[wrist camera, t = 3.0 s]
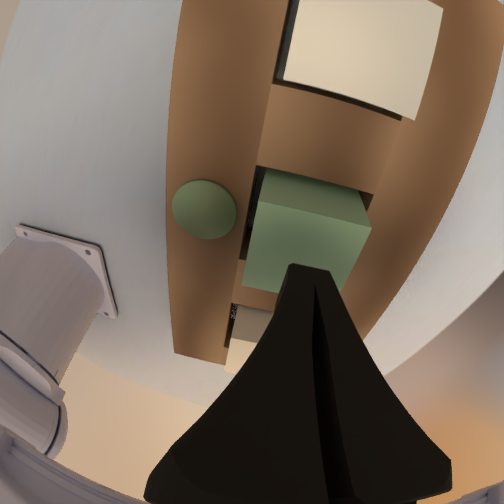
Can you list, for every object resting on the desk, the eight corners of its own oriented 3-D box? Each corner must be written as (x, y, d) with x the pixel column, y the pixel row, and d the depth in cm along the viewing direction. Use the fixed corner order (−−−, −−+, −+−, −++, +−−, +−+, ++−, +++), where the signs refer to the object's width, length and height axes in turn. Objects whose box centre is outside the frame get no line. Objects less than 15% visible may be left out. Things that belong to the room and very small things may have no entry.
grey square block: (286, 74, 9) (283, 79, 7) (305, -17, 7) (308, -41, 4) (386, 103, 9) (414, 120, 7) (408, 16, 7) (443, 8, 4)
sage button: (251, 241, 14) (241, 285, 12) (266, 166, 12) (258, 200, 9) (329, 258, 14) (333, 304, 12) (357, 189, 12) (372, 228, 9)
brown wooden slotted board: (183, 327, 22) (173, 355, 20) (220, -69, 6) (202, -92, 4) (327, 355, 22) (327, 385, 20) (478, 10, 6) (512, 9, 4)
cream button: (232, 333, 19) (224, 371, 17) (240, 295, 17) (230, 337, 14) (289, 344, 19) (286, 382, 17) (306, 309, 17) (306, 351, 14)
